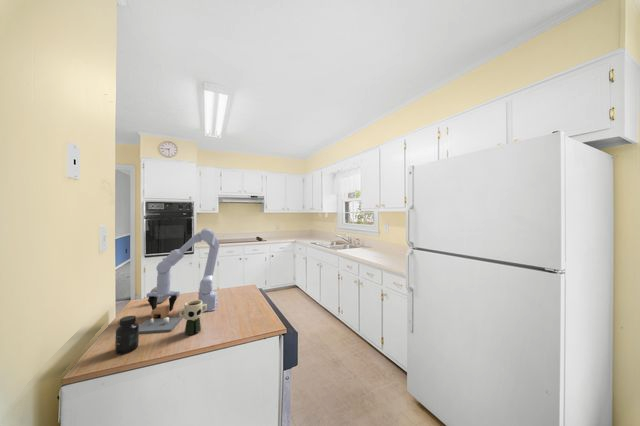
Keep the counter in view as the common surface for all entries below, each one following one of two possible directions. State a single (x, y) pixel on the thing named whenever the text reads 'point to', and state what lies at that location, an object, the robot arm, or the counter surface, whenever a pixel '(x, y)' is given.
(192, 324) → the character mug
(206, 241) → the robot arm
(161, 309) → the rectangular block
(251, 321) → the counter surface
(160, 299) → the donut
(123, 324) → the supplement bottle
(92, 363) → the counter surface
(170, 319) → the post board
